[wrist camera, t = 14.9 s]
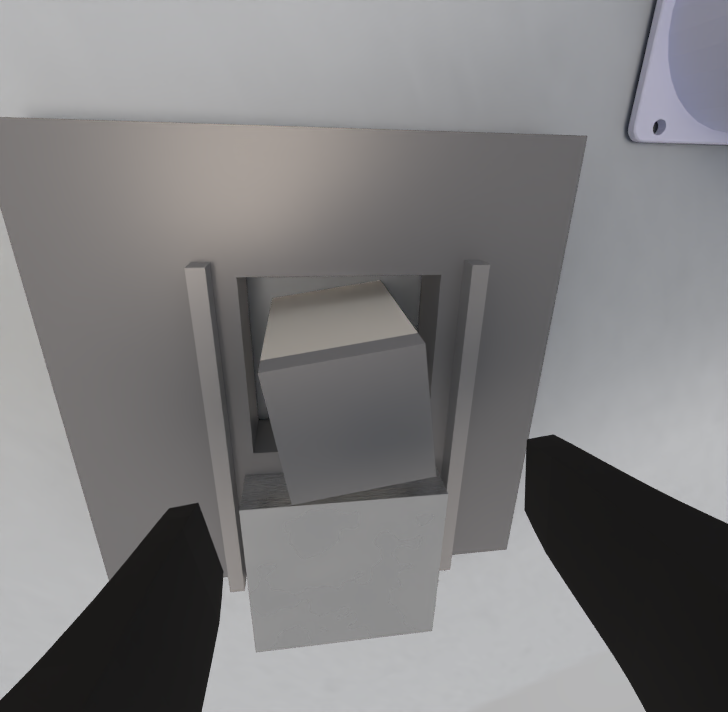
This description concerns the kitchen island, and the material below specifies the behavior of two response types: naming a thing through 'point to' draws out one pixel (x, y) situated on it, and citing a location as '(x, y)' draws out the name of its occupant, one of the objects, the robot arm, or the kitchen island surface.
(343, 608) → the shutter
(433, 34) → the kitchen island surface
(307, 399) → the plug
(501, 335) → the socket plate
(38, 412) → the kitchen island surface
